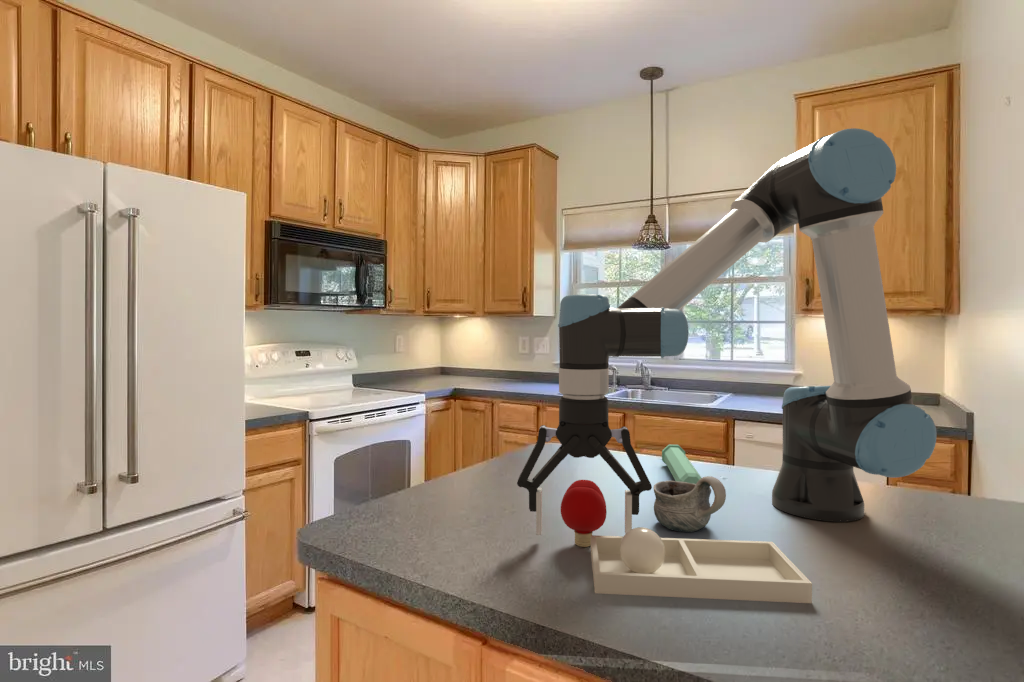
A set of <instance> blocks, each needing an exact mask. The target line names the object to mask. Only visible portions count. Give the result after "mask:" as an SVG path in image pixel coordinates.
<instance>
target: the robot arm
mask: <svg viewBox="0 0 1024 682" xmlns="http://www.w3.org/2000/svg"><path fill="white" fill-rule="evenodd" d="M896 174H897V163H896V159H895V155H894V153H893V152H892V150H891V148H890V147H889V145H888V144H887V143H886V141H884V139H883V138H881V137H877V136H876V135H875V134H874V133H873V132H871V131H869V130H866V129H863V128H853V127H851V128H846V129H841V130H838V131H836V132H834V133H831V134H829V135H824V136H822V137H820V138H818V139H817V140H816V141H814V142H813V143H811V144H809V145H807V146H805V147H803V148H801V149H799V150H797V151H796V152H794V153H791V154H789V155H787V156H784V157H783V158H781V159H780V160H778V161H777V162H776V163H775V164H773V165H772V166H771V167H770V168H768V170H766V171H765V172H764V173H763V174H762V175H761V176H760V177H759V178H757V180H755V181H754V182H753V183H752V185H750V186H749V187H748V188H747V189H746V190H745V191H744V192H742V194H741V195H740V196H738V198H736V199H735V200H734V201H733V202H732V203H731V205H730V212H728V213H727V214H726V215H725V216H724V217H722V218H721V219H720V220H719V221H718V222H716V223H715V224H714V225H713V226H712V227H711V228H710V229H708V230H707V231H705V233H703V234H702V235H701V236H700V237H699V238H697V239H696V240H695V241H694V242H693V243H692V244H690V246H688V247H687V248H686V249H685V250H683V251H682V252H681V253H680V254H679V255H678V256H677V257H676V258H674V259H673V260H672V261H671V262H669V264H667V265H666V266H665V267H663V268H662V269H661V270H660V271H659V272H658V273H657V274H655V275H654V276H653V277H652V278H651V279H649V280H648V281H647V282H646V283H645V284H644V285H643V286H642V287H640V288H639V289H638V290H637V291H635V292H634V293H633V294H632V295H631V296H630V297H629V298H628V299H626V300H625V301H624V302H623V303H622V304H620V305H619V306H618V307H616V308H615V307H611V304H610V300H609V297H608V296H607V295H605V294H591V293H590V294H588V293H587V294H569V295H566V296H564V297H563V298H562V299H561V300H560V303H559V316H558V317H559V320H558V325H557V327H558V338H559V339H558V340H559V341H558V346H559V347H558V349H559V350H558V352H559V356H558V357H559V361H558V363H559V367H558V392H559V393H560V395H562V396H561V397H559V399H558V425H557V427H556V428H554V427H548V426H546V425H543V424H542V425H540V426H539V428H538V433H537V434H538V435H537V441H536V442H535V445H534V446H533V449H532V450H531V453H530V455H529V457H528V459H527V461H526V463H525V465H524V467H523V468H522V471H520V472H521V473H520V475H519V476H518V479H517V483H516V485H517V486H518V487H519V488H524V489H526V490H527V491H528V509H529V512H535V513H536V515H535V518H536V519H535V521H536V523H535V525H536V526H535V528H536V531H535V532H536V533H535V535H536V536H542V532H543V488H542V487H540V486H541V485H542V484H543V483H544V482H545V481H546V479H547V478H548V477H550V476H551V473H552V472H553V471H554V470H555V469H556V468H557V467H558V466H559V464H560V463H561V462H562V461H563V460H564V459H565V458H566V457H567V456H568V455H570V456H571V457H573V458H575V459H577V458H582V457H585V458H589V459H593V458H595V457H597V456H600V457H601V459H603V460H604V462H606V464H607V465H608V466H609V467H610V468H611V470H612V471H613V472H614V473H615V474H616V475H617V477H618V478H619V479H620V480H621V481H622V483H624V485H625V486H626V487H627V489H625V490H624V535H625V534H626V533H627V532H628V531H630V530H631V529H633V526H632V525H633V515H634V516H638V515H639V512H640V495H641V493H643V492H645V491H648V492H649V491H651V490H652V489H653V486H652V483H651V481H650V479H649V478H648V475H647V474H646V472H645V470H644V468H643V465H642V464H641V462H640V459H639V458H638V455H637V453H636V452H635V450H634V448H633V445H632V443H631V442H632V441H631V433H630V430H629V429H628V427H627V426H621V427H620V428H615V429H614V428H613V429H611V428H610V425H609V424H610V423H609V399H608V398H607V397H606V395H608V394H609V387H610V386H609V385H610V383H609V382H610V381H609V380H610V379H609V377H610V375H609V368H610V367H609V366H610V365H609V361H610V360H609V359H610V357H611V358H613V357H614V358H618V357H631V358H632V357H639V358H640V357H641V358H643V357H644V358H647V357H648V358H650V357H651V358H652V357H656V358H658V357H659V358H661V359H662V358H665V357H676V356H680V355H681V354H683V352H684V351H685V349H686V348H687V345H688V341H689V323H688V319H687V317H686V315H685V313H684V312H683V311H682V309H683V308H684V307H685V306H687V304H689V303H690V302H691V301H692V300H693V299H695V298H696V297H697V296H698V295H699V294H701V293H702V292H703V291H704V290H705V289H706V288H707V287H709V285H711V284H712V283H714V282H715V281H716V280H717V279H718V278H719V277H720V276H721V275H723V274H724V273H725V272H727V270H729V269H730V268H731V267H732V266H733V265H734V264H736V263H737V262H738V261H739V260H740V259H741V258H743V257H744V256H745V255H746V254H747V253H748V252H749V251H751V250H752V249H754V247H756V246H757V245H758V244H759V243H769V242H770V241H771V240H773V238H775V237H776V236H777V235H778V234H780V233H782V232H784V230H786V229H789V228H791V227H792V226H795V225H797V224H798V229H799V232H801V233H803V234H804V235H806V236H807V237H808V238H810V240H811V243H812V250H813V255H814V256H813V257H814V261H815V268H816V274H817V281H818V288H819V294H820V300H821V306H822V311H823V312H822V313H823V319H824V326H825V331H826V337H827V345H828V349H829V356H830V357H829V358H830V362H831V370H832V375H833V383H832V384H831V385H816V386H813V385H812V386H808V385H807V386H790V387H788V388H787V389H785V391H784V393H783V397H782V405H781V409H782V464H781V467H780V470H779V471H778V475H777V477H776V480H775V483H774V485H773V488H772V492H771V504H772V505H773V506H774V507H775V508H776V509H778V510H780V511H782V512H785V513H787V514H790V515H793V516H796V517H801V518H805V519H811V520H817V521H824V522H841V523H842V522H853V521H858V520H860V519H862V518H864V517H865V500H864V498H863V496H862V492H861V490H860V487H859V484H858V481H857V479H856V478H857V477H856V475H855V473H854V468H856V469H858V470H859V469H860V470H862V471H863V472H865V473H867V474H869V475H876V476H877V475H878V476H882V477H885V478H886V477H887V478H895V479H896V478H903V477H906V476H910V475H912V474H914V473H915V472H917V471H918V470H920V469H921V468H923V466H925V464H926V462H927V460H928V459H930V458H931V456H932V454H933V453H934V450H935V447H936V444H937V435H938V434H937V427H936V424H935V421H934V420H933V418H932V416H931V415H930V414H928V413H926V411H925V410H924V409H923V408H921V407H920V406H916V405H915V404H914V402H913V396H912V389H911V386H910V385H909V384H908V383H907V382H905V381H904V380H902V379H901V378H899V377H898V376H897V370H896V369H897V368H896V364H895V356H894V350H893V343H892V337H891V331H890V325H889V324H890V323H889V317H888V311H887V304H886V297H885V292H884V285H883V279H882V273H881V266H880V259H879V251H878V245H877V239H876V234H875V225H876V223H877V222H878V220H880V218H881V217H882V216H883V214H884V207H883V201H882V200H883V199H882V198H883V197H884V196H885V195H886V194H887V193H888V192H889V191H890V189H891V187H892V184H893V183H894V182H895V179H896V176H897V175H896ZM553 437H556V439H557V441H559V443H560V444H561V445H560V446H558V448H557V450H556V451H555V452H554V454H553V455H552V456H551V457H550V458H549V459H548V461H547V462H545V464H544V465H543V466H542V467H541V469H539V471H538V472H537V473H536V474H535V475H534V477H533V478H530V475H531V474H532V471H533V469H534V467H535V465H536V464H537V461H538V460H539V457H540V455H541V454H542V452H543V450H544V448H545V444H546V443H547V442H549V443H550V442H551V440H552V438H553ZM612 438H614V439H615V441H616V442H617V443H618V444H622V447H623V449H624V451H625V452H626V455H627V457H628V459H629V461H630V463H631V465H632V467H633V469H634V471H635V473H636V475H637V477H638V480H639V481H635V480H634V479H633V478H632V476H631V475H630V474H629V473H628V472H627V471H626V469H625V468H624V467H623V466H622V465H621V464H620V462H619V461H618V460H617V459H616V457H615V456H614V455H613V454H612V452H611V451H610V450H609V449H608V447H607V445H608V443H609V442H610V441H611V439H612Z"/></svg>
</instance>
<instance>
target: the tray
mask: <svg viewBox="0 0 1024 682" xmlns="http://www.w3.org/2000/svg"><path fill="white" fill-rule="evenodd" d="M623 537H624V535H623V536H621V535H619V536H618V535H594V534H592V535H591V545H590V560H591V569H592V579H593V586H594V587H593V590H594V594H598V595H599V594H603V595H604V594H605V595H620V596H621V595H625V596H626V595H627V596H642V597H644V596H646V597H670V598H671V597H672V598H687V599H688V598H689V599H692V598H693V599H711V600H713V599H714V600H731V601H732V600H733V601H755V602H756V601H757V602H776V603H777V602H778V603H798V604H799V603H800V604H813V583H812V582H811V581H810V579H809V578H807V576H806V575H805V574H804V573H803V572H802V571H801V570H800V569H799V568H798V567H797V565H795V564H794V563H793V561H792V560H791V559H789V557H787V556H786V554H785V553H784V552H782V550H781V549H780V548H779V547H778V546H777V545H776V544H775V543H774V542H773V541H764V540H763V541H760V540H758V541H756V540H734V539H732V540H731V539H708V538H707V539H705V538H704V539H702V538H679V537H678V538H674V537H660V538H661V540H662V542H663V544H664V547H665V558H664V561H663V564H662V565H661V567H660V568H659V569H658V570H657V571H655V572H653V573H651V574H640V573H635V572H633V571H632V570H630V569H629V568H628V567H627V566H626V565H625V564H624V562H623V560H622V558H621V554H620V544H621V540H622V538H623Z"/></svg>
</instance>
